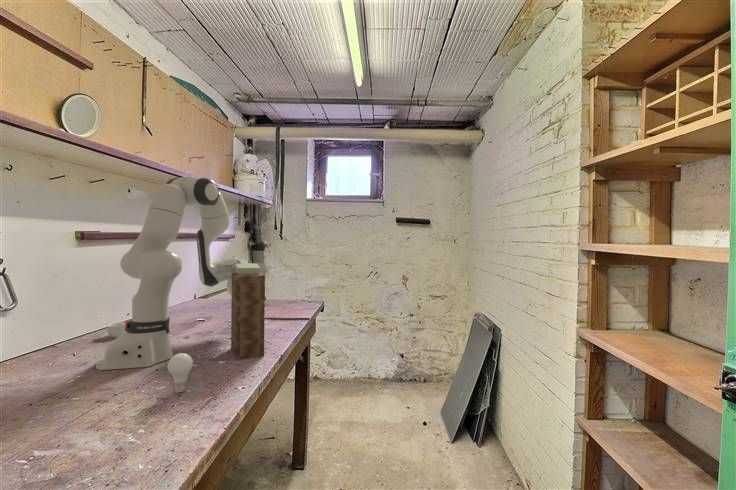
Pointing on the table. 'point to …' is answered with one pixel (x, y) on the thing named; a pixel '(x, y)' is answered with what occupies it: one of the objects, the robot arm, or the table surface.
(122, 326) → the teacup
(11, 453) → the table surface
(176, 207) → the robot arm
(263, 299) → the upright wooden block
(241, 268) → the pale green stepped block
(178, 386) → the lightbulb
